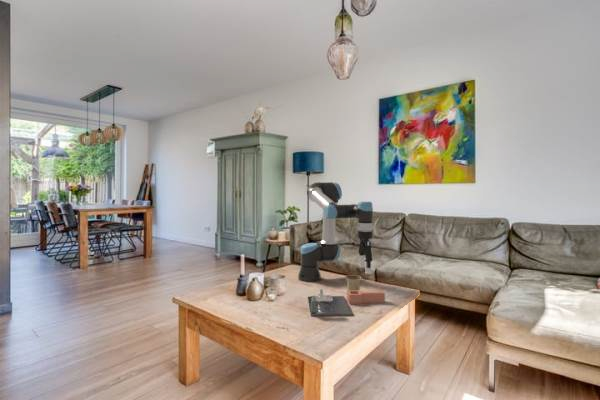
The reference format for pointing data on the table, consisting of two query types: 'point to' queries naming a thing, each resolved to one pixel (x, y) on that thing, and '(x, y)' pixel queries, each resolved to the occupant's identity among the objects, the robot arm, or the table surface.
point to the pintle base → (328, 305)
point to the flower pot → (353, 282)
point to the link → (365, 296)
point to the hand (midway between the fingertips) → (364, 270)
